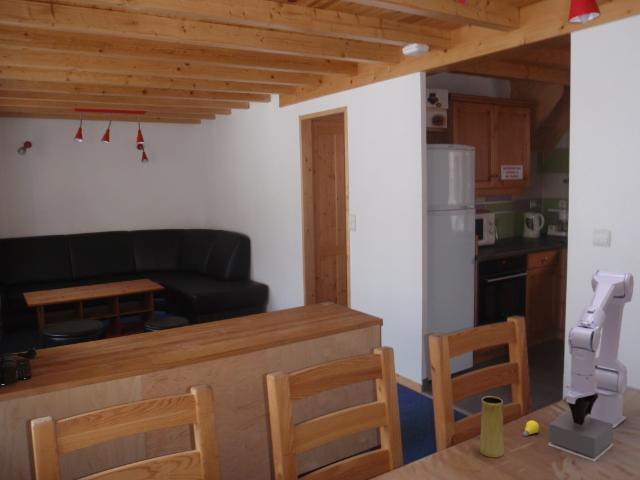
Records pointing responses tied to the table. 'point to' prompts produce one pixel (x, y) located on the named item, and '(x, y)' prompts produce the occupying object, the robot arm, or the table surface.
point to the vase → (492, 427)
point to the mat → (581, 453)
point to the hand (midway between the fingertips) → (581, 421)
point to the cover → (581, 434)
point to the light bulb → (531, 428)
